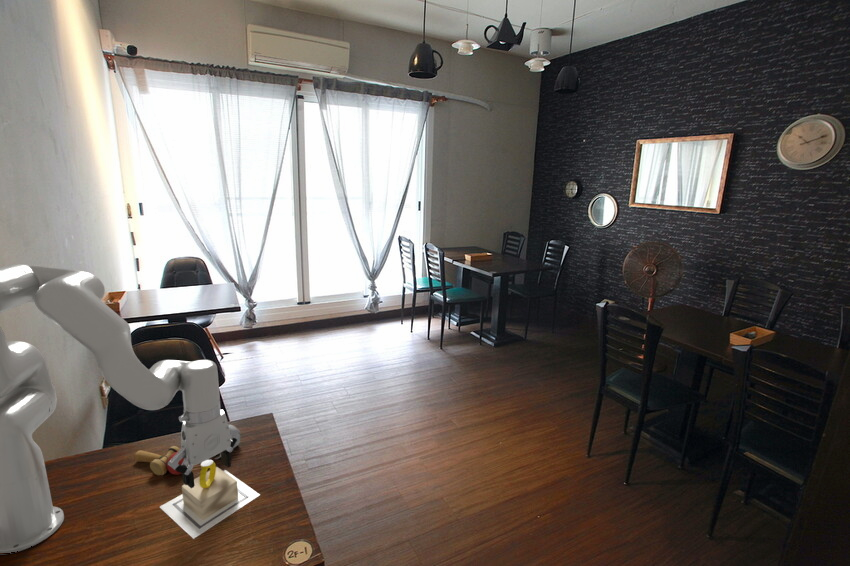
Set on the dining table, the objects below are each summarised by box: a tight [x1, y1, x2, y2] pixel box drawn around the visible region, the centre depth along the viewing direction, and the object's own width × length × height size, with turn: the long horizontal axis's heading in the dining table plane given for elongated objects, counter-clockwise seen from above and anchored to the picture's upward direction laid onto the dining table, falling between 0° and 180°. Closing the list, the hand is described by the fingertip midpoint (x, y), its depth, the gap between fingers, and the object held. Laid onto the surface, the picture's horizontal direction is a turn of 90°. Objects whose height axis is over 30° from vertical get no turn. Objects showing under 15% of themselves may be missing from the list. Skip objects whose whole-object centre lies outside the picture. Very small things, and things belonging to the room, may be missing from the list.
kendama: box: [133, 445, 189, 476], centre depth 115 cm, size 8×6×18 cm
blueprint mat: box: [159, 469, 261, 540], centre depth 104 cm, size 17×16×1 cm
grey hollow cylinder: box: [213, 423, 242, 460], centre depth 123 cm, size 11×8×8 cm
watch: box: [199, 459, 217, 488], centre depth 102 cm, size 6×3×6 cm, turn 4°
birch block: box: [181, 466, 238, 520], centre depth 103 cm, size 9×9×5 cm
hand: (208, 474), depth 102 cm, fingers open, 8 cm apart
